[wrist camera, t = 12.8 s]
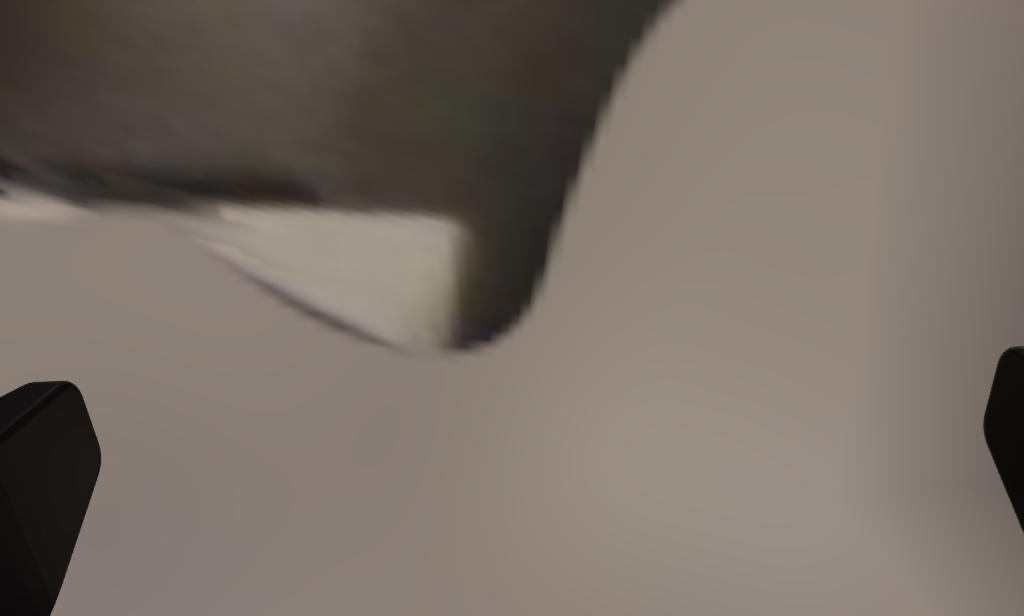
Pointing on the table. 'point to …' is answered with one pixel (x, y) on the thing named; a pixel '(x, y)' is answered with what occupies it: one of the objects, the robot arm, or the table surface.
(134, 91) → the table surface
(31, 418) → the robot arm
